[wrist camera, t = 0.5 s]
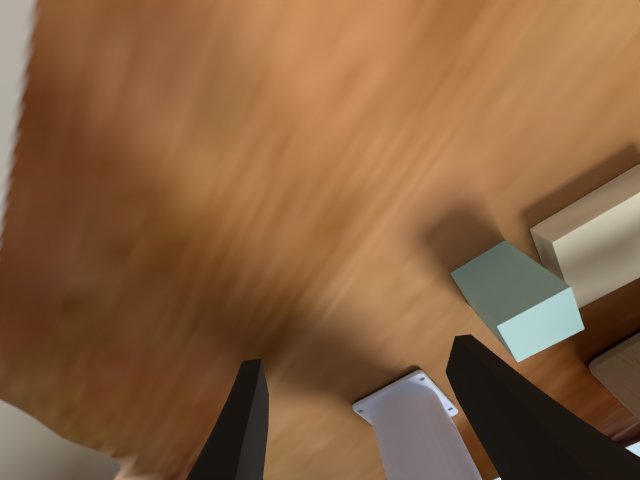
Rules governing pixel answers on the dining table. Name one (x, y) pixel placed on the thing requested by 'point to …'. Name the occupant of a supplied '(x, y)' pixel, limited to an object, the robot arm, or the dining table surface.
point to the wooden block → (621, 372)
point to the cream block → (595, 239)
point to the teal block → (519, 300)
